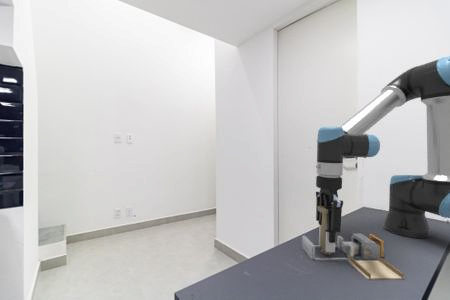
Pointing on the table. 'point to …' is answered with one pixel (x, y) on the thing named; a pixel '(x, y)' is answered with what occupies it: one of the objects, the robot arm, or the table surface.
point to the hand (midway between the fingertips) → (326, 248)
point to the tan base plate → (376, 269)
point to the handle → (323, 228)
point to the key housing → (367, 246)
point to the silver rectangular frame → (310, 248)
